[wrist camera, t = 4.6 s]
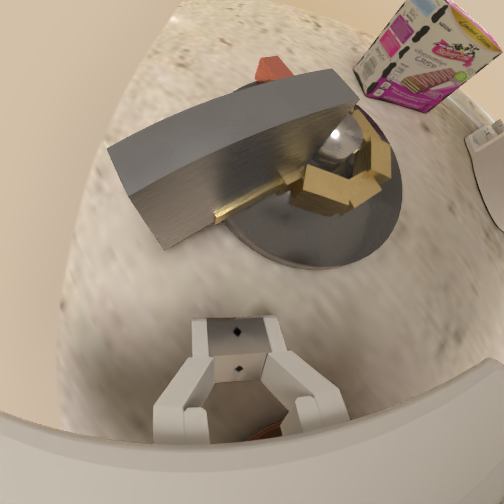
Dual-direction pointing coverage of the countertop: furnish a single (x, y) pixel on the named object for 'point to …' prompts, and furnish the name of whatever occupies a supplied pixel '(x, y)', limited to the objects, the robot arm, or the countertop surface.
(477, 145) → the robot arm
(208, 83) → the countertop surface
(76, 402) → the countertop surface
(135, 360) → the countertop surface
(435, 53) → the candy bar box
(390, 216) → the cap plate
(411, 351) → the countertop surface
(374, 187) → the gray slab gold ring
